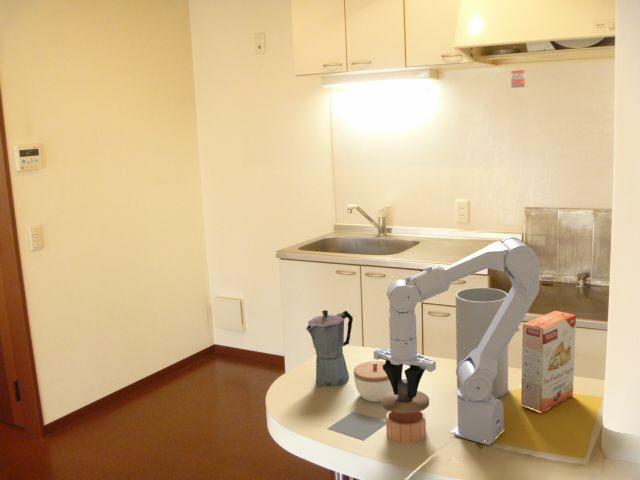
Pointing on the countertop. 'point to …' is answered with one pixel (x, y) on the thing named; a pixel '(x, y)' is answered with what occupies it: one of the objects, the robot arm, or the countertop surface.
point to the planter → (406, 426)
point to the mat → (357, 425)
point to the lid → (404, 400)
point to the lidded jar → (372, 381)
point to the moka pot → (330, 347)
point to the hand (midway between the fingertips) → (405, 395)
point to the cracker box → (548, 360)
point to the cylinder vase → (479, 328)
